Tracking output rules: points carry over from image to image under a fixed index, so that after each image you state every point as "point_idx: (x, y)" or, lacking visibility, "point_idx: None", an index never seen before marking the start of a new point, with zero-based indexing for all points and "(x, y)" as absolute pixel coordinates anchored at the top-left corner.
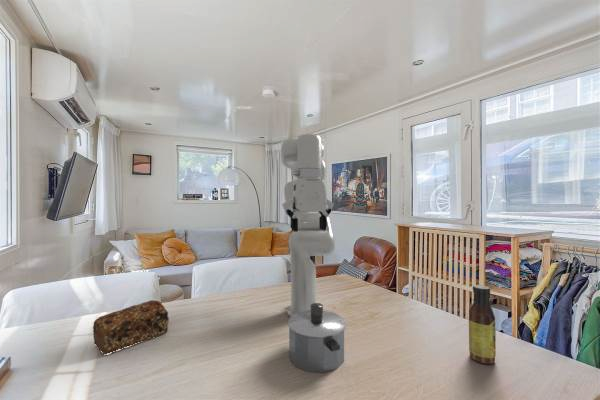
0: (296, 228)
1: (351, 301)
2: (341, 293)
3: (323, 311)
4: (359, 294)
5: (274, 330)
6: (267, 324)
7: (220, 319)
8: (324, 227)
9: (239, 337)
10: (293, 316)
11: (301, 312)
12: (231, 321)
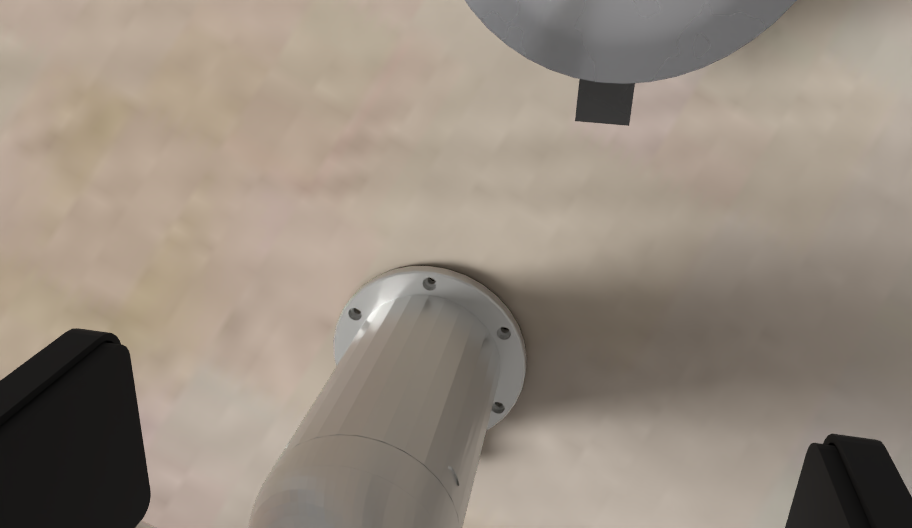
0: (886, 477)
1: None
2: None
3: (491, 4)
4: None
5: (683, 257)
6: (682, 337)
7: None
8: (80, 360)
9: (898, 283)
10: (734, 32)
11: (643, 67)
12: None
